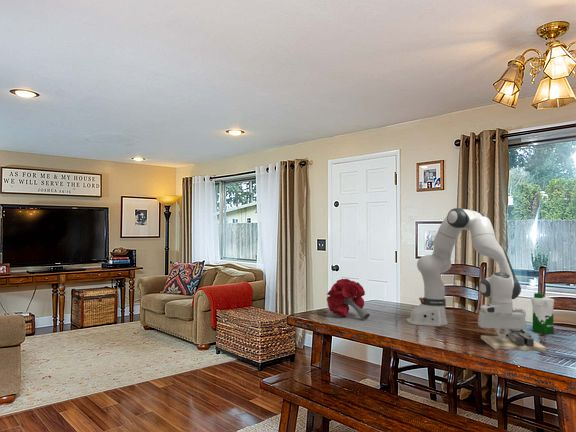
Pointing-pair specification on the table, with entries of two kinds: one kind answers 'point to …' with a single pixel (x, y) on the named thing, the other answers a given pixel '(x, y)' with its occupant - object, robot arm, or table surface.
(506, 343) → the board
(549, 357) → the table surface
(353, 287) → the bouquet
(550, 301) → the milk carton
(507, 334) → the burger
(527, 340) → the tongs fixed
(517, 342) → the tongs arm
